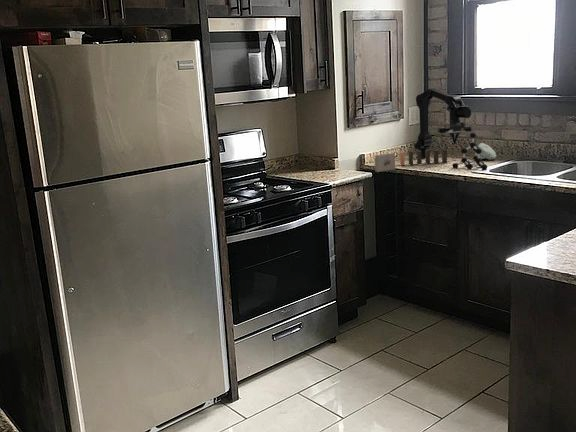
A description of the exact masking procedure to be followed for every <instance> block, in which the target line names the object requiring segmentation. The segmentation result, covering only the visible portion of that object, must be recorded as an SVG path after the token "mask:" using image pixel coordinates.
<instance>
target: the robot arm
mask: <svg viewBox="0 0 576 432" xmlns="http://www.w3.org/2000/svg"><path fill="white" fill-rule="evenodd" d="M433 98H435V99H438V100H440V101H443V102H444V103H445V104H446V105H447V106H448V107H446V110H447V111H448V112H449V118H448V119H449V121H448V123H449V125H448V128H447V127H444V126H440V127H437V133H438V134H445V133H446V134H449V136H450V138H451V141H452V144H453V145H456V143H457V140H458V138H459V135H460V134H462V131H465V132H472V126H470V125H466V122H461V119H469V118H471V116H472V110H471V109H470V106H468V105H465V104H464V102H463V100H462V98H461V96H460V95H458V94H457V95H456V94H448V93H445V92H444V91H440V90H438V89H436V88H433V87H432V88H428V89H427V90H425V91H424V92H422V93H420V94H418V95H416V97H415V101H416V106H417V108H418V110H419V111H418V113H419V134H418V136H417V142H415V144H414V145H413V146H414V149H416V150H420V151H421V158H422V160H423V159H425V150H428V148H429V149H430V147H431V144H432V142H433V134H431V133H430V132H429V114H428V108H429V106H430V103H431V100H432V99H433ZM415 158H416V159H417V156H416V157H415Z"/></svg>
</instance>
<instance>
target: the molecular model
mask: <svg viewBox="0 0 576 432" xmlns="http://www.w3.org/2000/svg"><path fill="white" fill-rule="evenodd" d="M469 137H470V138H471V142H470V144H469V146H467V147H463V148H462V149H461V150H460V152H461V153H462V155H463V156H462V158H461V160H460V161H459V162H458V163H457V162H455V163H452V168H453V169H455V168H456V169H458V168H459V165H461V164H464V166H465V167H466V168H467V170H472V169H473V167H474V165H476V164H477V165H478V166H479V167H480V168H481V170H483V171H486V170H487V169H488V165H487V164H485V162H484V161H483V159H482V160H481V159H480V158H479V154H480V153H481V152H482V150H481V149H480V148H479V147H478V145H477V144H476V143H475V139H476V137H477V134H476V133H475V132H471V133H470V134H469ZM471 148H472V150H473V151H474V153H475V154H474V156H473V158H472V159H471V160H470V161H469V160H468V159H467V158H466V154H467V152H468V150H469V149H471ZM477 154H478V156H477Z"/></svg>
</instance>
